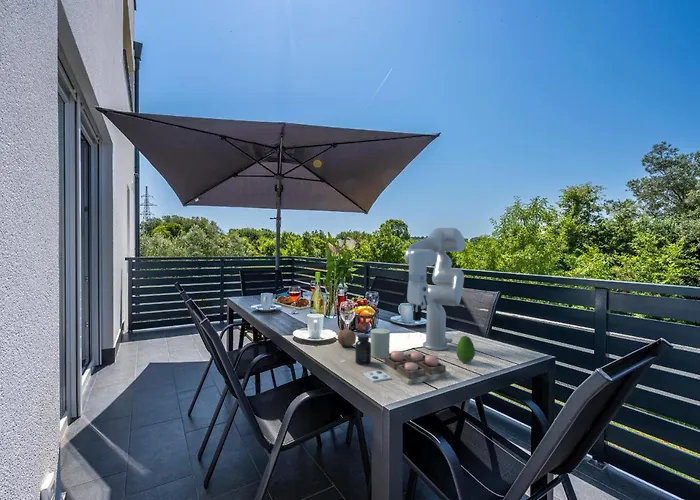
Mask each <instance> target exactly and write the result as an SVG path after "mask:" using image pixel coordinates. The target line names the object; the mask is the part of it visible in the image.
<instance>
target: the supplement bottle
mask: <svg viewBox="0 0 700 500" xmlns="http://www.w3.org/2000/svg"><path fill="white" fill-rule="evenodd" d="M369 340H370V335H368V334H363V333H362V334H358V335H357V341H356V342H355V351H354V353H355V358H354V359H355V363H356V364H357V365H359V366H368V365H370V364H371V363H372V361H371V360H372V356H371V341H369Z"/></svg>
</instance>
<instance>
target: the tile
mask: <svg viewBox="0 0 700 500" xmlns="http://www.w3.org/2000/svg"><path fill="white" fill-rule="evenodd" d="M363 376H365V377H366V378H368V379H369V380H370V381H371V382H372V383H376V382H382V381H385V380H391V379H392V377H391V376H390V375H389V374H388V373H385V372H384V371H383V370H381V369H380V370H372V371H367V372H363Z"/></svg>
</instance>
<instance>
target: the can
mask: <svg viewBox="0 0 700 500" xmlns="http://www.w3.org/2000/svg"><path fill="white" fill-rule="evenodd" d="M390 333H391V331H390V330H389V329H386V328H379V327H378V328H373V329H370V343H371V358H375V359H385V358H386V357H391V354H390V338H391V337H390Z"/></svg>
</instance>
